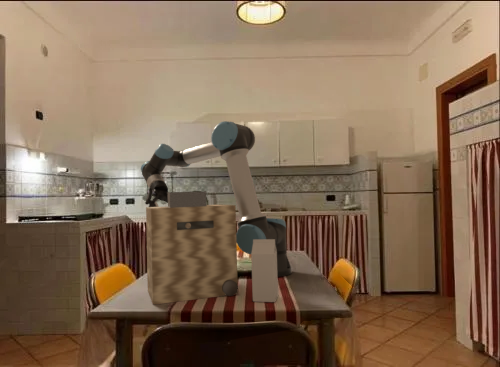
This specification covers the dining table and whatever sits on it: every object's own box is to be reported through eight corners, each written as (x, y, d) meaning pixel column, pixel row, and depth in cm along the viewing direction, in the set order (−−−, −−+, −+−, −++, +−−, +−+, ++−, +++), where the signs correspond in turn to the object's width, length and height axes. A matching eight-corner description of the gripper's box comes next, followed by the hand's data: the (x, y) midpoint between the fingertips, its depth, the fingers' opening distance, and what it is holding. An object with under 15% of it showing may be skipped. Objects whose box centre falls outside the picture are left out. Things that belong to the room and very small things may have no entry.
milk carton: (275, 302, 113) (273, 240, 114) (252, 302, 115) (250, 240, 115) (278, 296, 120) (276, 238, 121) (256, 295, 122) (255, 238, 122)
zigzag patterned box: (222, 282, 142) (220, 204, 143) (239, 295, 123) (237, 205, 124) (147, 291, 132) (146, 207, 133) (153, 306, 113) (151, 208, 114)
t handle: (189, 204, 150) (188, 192, 150) (206, 206, 123) (206, 191, 123) (159, 206, 146) (158, 193, 146) (170, 207, 118) (169, 192, 119)
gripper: (175, 197, 178) (192, 227, 164) (128, 187, 160) (142, 219, 147) (183, 185, 176) (200, 215, 162) (136, 173, 158) (151, 205, 144)
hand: (173, 217), depth 154 cm, fingers open, 13 cm apart
